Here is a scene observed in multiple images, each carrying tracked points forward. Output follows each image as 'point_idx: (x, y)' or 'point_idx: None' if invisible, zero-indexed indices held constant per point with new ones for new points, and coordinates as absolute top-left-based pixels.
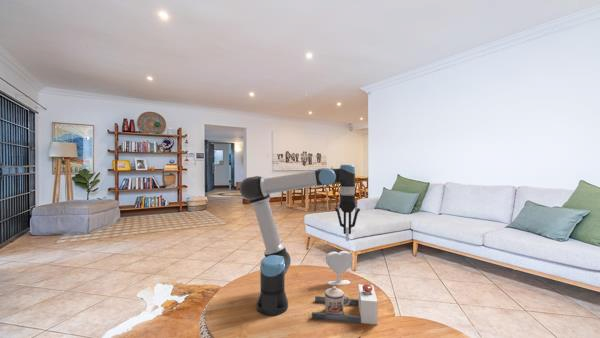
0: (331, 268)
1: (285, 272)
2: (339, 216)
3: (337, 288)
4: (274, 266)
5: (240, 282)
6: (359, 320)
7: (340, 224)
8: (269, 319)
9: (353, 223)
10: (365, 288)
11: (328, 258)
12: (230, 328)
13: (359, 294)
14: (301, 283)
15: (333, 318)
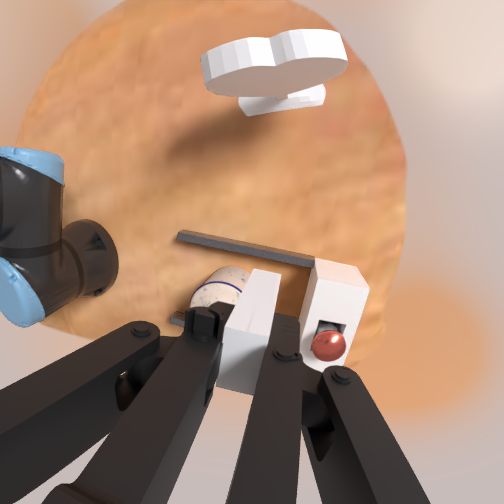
0: (237, 95)
1: (54, 271)
2: (50, 462)
3: (233, 292)
4: (21, 326)
5: (24, 135)
6: None
7: (128, 389)
8: (95, 304)
9: (318, 453)
10: (317, 358)
11: (209, 86)
12: (54, 320)
13: (305, 319)
14: (149, 111)
15: None
